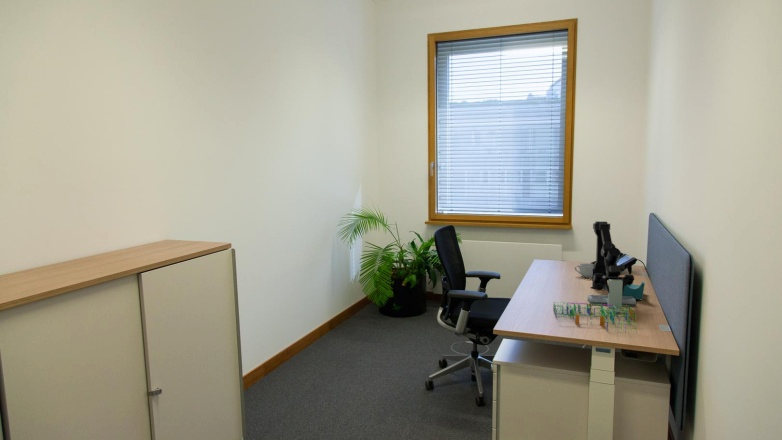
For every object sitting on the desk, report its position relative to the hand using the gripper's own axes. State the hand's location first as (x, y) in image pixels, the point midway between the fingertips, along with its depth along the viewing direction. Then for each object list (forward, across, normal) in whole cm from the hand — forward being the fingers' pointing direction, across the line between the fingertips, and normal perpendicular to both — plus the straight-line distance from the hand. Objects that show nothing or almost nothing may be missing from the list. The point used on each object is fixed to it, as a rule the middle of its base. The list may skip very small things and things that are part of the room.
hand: (615, 293), depth 249 cm
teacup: (-46, -2, +57) cm, 74 cm away
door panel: (+4, 0, +6) cm, 8 cm away
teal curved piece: (-12, +14, +24) cm, 30 cm away
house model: (+23, -14, -11) cm, 29 cm away
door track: (-1, 0, +12) cm, 12 cm away
